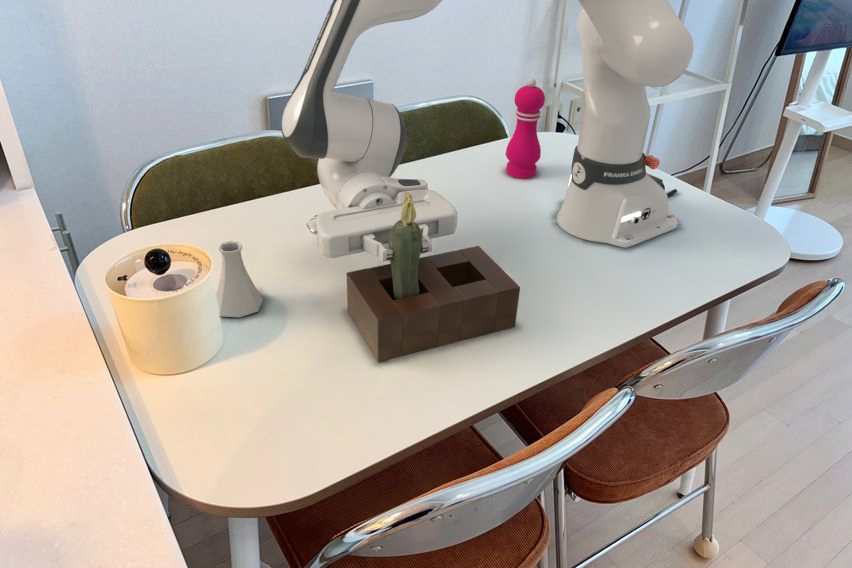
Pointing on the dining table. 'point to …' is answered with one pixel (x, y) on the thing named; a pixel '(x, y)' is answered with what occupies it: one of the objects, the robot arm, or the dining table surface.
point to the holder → (432, 303)
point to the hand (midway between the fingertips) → (408, 252)
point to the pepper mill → (525, 132)
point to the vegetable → (406, 251)
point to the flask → (236, 284)
